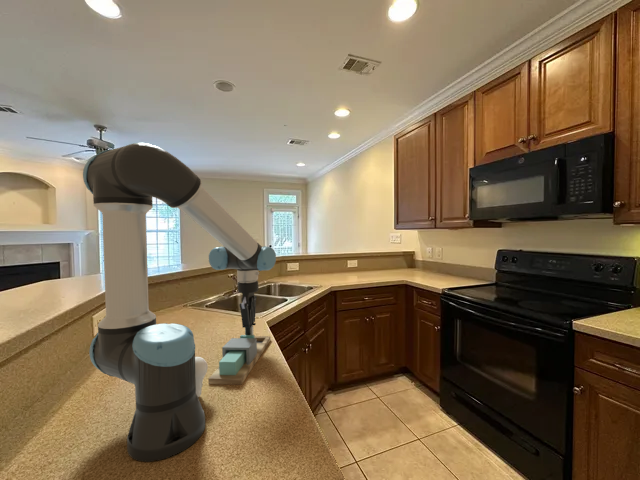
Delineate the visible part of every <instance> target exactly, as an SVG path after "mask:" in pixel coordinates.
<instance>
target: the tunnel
mask: <svg viewBox="0 0 640 480" xmlns="http://www.w3.org/2000/svg"><path fill="white" fill-rule="evenodd" d="M221 349H222V358H223V357H224V356H225V355H226V354H227V353H228V352H229V351H230V350H246V360H247V365H250V364H251V362H252V361H253V359H254V358H255V356H256V355H257V338H240V337H239V338H238V337H232V338H230V339H229V340H228V341H227V342H226V343H225V344H224V345H223V346H222V347H221Z"/></svg>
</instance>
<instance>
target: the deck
mask: <svg viewBox="0 0 640 480" xmlns="http://www.w3.org/2000/svg"><path fill="white" fill-rule="evenodd" d="M255 338H257V355H256V356H255V358H254V359H253V361H252V362H251V364H250V365H247V360H246V362H245V363H244V365H243V366H242V367H241V369H240V370H239V371H238V373H237V374H236V375H219V366H218V367H217V368H216V370H215V371H213V373H212V374H211V375H210V376H209V377H208V385H239V386H241V385H242V384H243V383H244V382H245V380H246V378H247V377H248V375H249V374H250V373H251V371H252V370H253V368H254V366H255V365H256V363H257V362H258V360H259V359H260V357H261V356H262V354H263V352H264V351H265V350H266V348H267V346H268V344H269V343H270V341H271V340H272V339H271V336H269V335H268V336H266V335H265V336H264V335H262V336H261V335H260V336H259V335H258V336H257V335H255Z"/></svg>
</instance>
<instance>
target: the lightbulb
mask: <svg viewBox="0 0 640 480" xmlns="http://www.w3.org/2000/svg"><path fill="white" fill-rule="evenodd" d="M208 369H209V368H208V362H207V361H206V360H205V358H203V357H201V356H195V378H196V394H197V396H198V398H199V397H200V396H201V395H202V391H203V389H202V388H203V382H204V379H205V376H206V374H207V372H208Z"/></svg>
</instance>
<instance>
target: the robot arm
mask: <svg viewBox="0 0 640 480" xmlns="http://www.w3.org/2000/svg"><path fill="white" fill-rule="evenodd" d="M82 179H83V183H84V185H85V187H86V189H87V190H88V191H89V192H90V193H91V194H92V197H93V200H92V201H93V207H95V208H96V209H97V210H99V211H100V212H101V215H102V236H103V237H102V239H103V266H104V268H103V269H104V293H105V294H104V295H105V296H104V297H105V317H103V318H102V319H101V320H100V321H99V322H98V323H97V333H96V335H95V337H94V338H92V339H91V342H90V346H89V353H88V354H89V359H90V361H91V363H92V365H93V366H94V367H95V368H96V369H97V370H98V371H100V372H101V373H102V374H104V375H108V376H109V377H114V378H118V379H121V380H123V381H126V382H128V383H130V384H133V385H134V390H135V392H134V394H135V412H134V415H133V418H132V420H131V423H130V427H129V430H128V434H127V437H126V443H127V444H126V447H127V448H126V449H127V450H126V451H127V454H128V455H129V457H131V458H132V459H133V460H135V459H136V461H139V460H140V462H155V461H154V460H157V461H160V460H165V459H168V458H170V456H171V457H173V456H176V455H178V454H180V453H181V451H182V452H184V451H185V450H186V449H188V448H189V447H191V446H192V445H194V444H195V443H196V442H197V441H198V440H199V438H200V437H201V436H202V435H203V433H204V432H205V429H206V415H205V411H204V409H203V406H202V404H201V402H200V400H199V397H198V396H197V394H196V378H195V357H196V344H195V337H194V333H193V331H192V329H191V328H189V327H188V326H186V325H184V324H180V323H167V322H166V323H157V316H156V314H155V313H154V312H153V311H151V310H150V308H149V277H148V275H149V274H148V247H147V244H148V243H147V220H146V219H147V213H148V212H150V210H152V209H153V206H154V205H153V198H156V199H158V200H160V201H162V202H163V203H165V204H166V205H167V206H169V208H172V209H179V210H180V211H181V212H182V213H184V214H185V215H186V216H187V217H188V218H190V220H192V221H193V222H194V223H195V224H196V225H198V226H199V227H200V228H202V229H203V230H204V231H205V232H206V233H208V234H209V236H211V237H212V238H213V239H214V240H216V241H217V242H218V243H219V244H221V245H222V246H219V247H213V248H212V249H211V250H210V251H209V254H208V263H209V265H210V267H211V268H212V269H213V270H217V271H219V270H221V271H223V270H224V271H225V270H236V272H237V273H236V274H237V276H236V277H237V281H238V282H237V291H238V292H237V293H240V294H241V295H242V296H241V303H239V304H238V305H239V309H240V316H241V324H242V326H241V327H242V328H244V335H254V334H255V333H254V326H256V313H257V311H256V310H257V298H258V297H257V295H255V293H257V292H259V281H258V280H259V275H260V272H262V271H270V270H272V269H273V268H274V267H275V264H276V261H277V255H276V251H275V249H273V247H270V246H266V245H264V246H262V245H261V244H260V243H259V242H257V240H256V239H254V237H253V236H252V235H251V234H250V233H249V232H248V231H247V229H245V228H244V227H243V226H242V225H240V223H238V221H237V220H236V219H235V218H234V217H233V216H232V215H231V214H229V212H228V211H227V209H225V208H224V207H223V206H222V205H221V204H220V203H219V202H218V201H217V200H216V199H215V198H214V197H213V196H212V195H211V194H210V193H209V192H208V191H207V190H206V189H205V188H204V187H203V186H202V182H203V181H202V179H200V177H199V176H198V175H197V173H195V172H194V171H193V170H192V169H191V168H190V167H189V166H188V165H187V164H186V163H184V162H183V161H181V160H180V159H179V158H178V157H176V156H175V155H173V154H171V153H170V152H168V151H167V150H165V149H164V148H161V147H159V146H156V145H152V144H150V143H147V142H146V143H145V142H134V143H130V144H128V145H127V144H126V145H124V146H120V147H117V148H116V147H115V148H112V149H110V148H109V149H105V150H103V151H101V152H100V151H99V152H98V153H97V154H94V155H93V156H92V157H90V158H89V159H88V160H87V162H86V163H85V165H84V168H83V171H82ZM179 452H180V453H179ZM177 453H178V454H177ZM175 454H176V455H175ZM172 455H173V456H172ZM167 457H168V458H167Z"/></svg>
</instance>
